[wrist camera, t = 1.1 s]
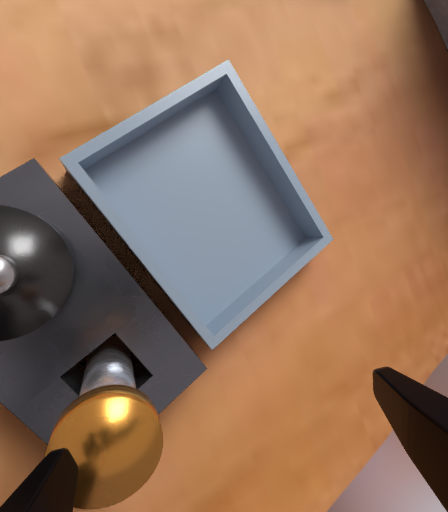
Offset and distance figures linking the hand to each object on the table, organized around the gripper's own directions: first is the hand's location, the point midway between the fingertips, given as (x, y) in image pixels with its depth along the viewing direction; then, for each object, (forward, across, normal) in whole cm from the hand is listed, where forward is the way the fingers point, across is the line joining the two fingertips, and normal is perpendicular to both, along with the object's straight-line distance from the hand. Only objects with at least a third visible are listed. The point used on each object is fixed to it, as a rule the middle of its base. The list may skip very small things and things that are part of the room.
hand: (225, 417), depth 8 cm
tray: (+13, -1, -3) cm, 14 cm away
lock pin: (+9, +7, +3) cm, 12 cm away
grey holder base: (+10, +8, 0) cm, 13 cm away
